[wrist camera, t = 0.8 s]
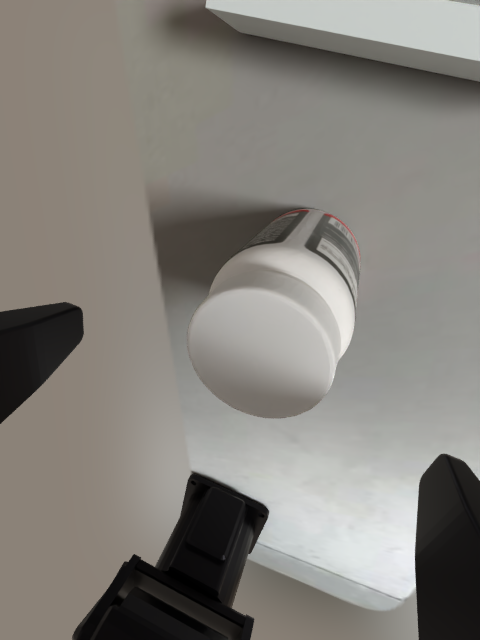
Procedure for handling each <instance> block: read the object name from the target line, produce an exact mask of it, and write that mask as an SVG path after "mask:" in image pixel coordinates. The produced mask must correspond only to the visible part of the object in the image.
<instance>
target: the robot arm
mask: <svg viewBox="0 0 480 640" xmlns="http://www.w3.org/2000/svg"><path fill="white" fill-rule="evenodd" d="M83 334H84V331H83V313H82V310H81V308H80V307H77V306H75V305H73V304H70V303H67V302H63V303H56V304H49V305H43V306H36V307H30V308H23V309H16V310H9V311H3V312H0V424H1V423H2V422H3V421H4V420H5V419H6V418H7V417H8V416H9V415H10V414H12V412H14V411H15V410H16V409H17V408H18V407H19V406H20V405H21V404H22V403H23V402H24V401H26V400H27V399H28V398H29V397H30V396H31V395H32V394H33V393H34V392H35V391H36V390H37V389H38V388H39V387H40V386H41V385H42V384H43V383H44V382H45V381H46V380H47V379H48V378H49V377H50V375H52V373H53V372H54V371H55V370H56V369H57V368H58V367H59V366H60V364H61V363H62V362H63V361H64V360H65V359H66V358H67V356H68V355H69V354H70V353H71V352H72V351H73V350H74V349H75V347H76V346H77V345H78V344H79V343H80V341H81V340H82V337H83ZM268 515H269V510H268V509H267V508H266V507H264V506H262V505H260V504H257V503H255V502H253V501H251V500H249V499H247V498H245V497H243V496H240V495H238V494H236V493H234V492H232V491H230V490H228V489H226V488H223V487H221V486H219V485H217V484H215V483H213V482H211V481H209V480H207V479H204V478H202V477H200V476H198V475H195V474H192V475H191V476H190V477H189V479H188V483H187V487H186V492H185V497H184V501H183V506H182V511H181V516H180V519H179V520H178V522H177V524H176V526H175V528H174V530H173V532H172V534H171V536H170V538H169V541H168V542H167V544H166V546H165V548H164V550H163V552H162V554H161V556H160V558H159V560H158V562H157V564H156V566H155V567H153V566H152V565H150V564H148V563H146V562H144V561H143V560H141V557H139V556H137V555H135V554H134V555H133V556H132V558H131V559H130V560H129V562H124V563H123V565H122V567H121V568H120V570H119V572H118V573H117V575H116V577H115V579H114V580H113V582H112V583H111V585H110V587H109V588H108V589H107V591H106V592H105V593H104V595H103V596H102V597H101V598H100V599H99V601H98V602H97V603H96V604H95V606H94V607H93V608H92V609H91V611H90V612H89V613H88V614H87V616H86V617H85V618H84V619H83V621H82V622H81V623H80V624H79V625H78V627H77V628H76V630H75V632H74V634H73V636H72V640H250V638H251V633H252V628H253V623H254V618H252V617H250V616H248V615H246V616H245V615H243V614H241V613H239V612H237V611H235V610H234V609H232V605H233V602H234V599H235V595H236V592H237V589H238V586H239V582H240V579H241V576H242V572H243V569H244V566H245V562H246V559H247V556H248V554H250V553H251V552H252V550H253V548H254V546H255V544H256V542H257V539H258V537H259V535H260V533H261V531H262V529H263V527H264V525H265V523H266V521H267V519H268ZM415 573H416V593H417V613H418V632H419V640H480V481H479V479H478V478H477V477H476V476H475V474H474V473H473V472H472V470H471V469H470V468H469V467H468V465H467V464H466V463H465V462H464V461H462V460H460V459H458V458H455V457H453V456H450V455H448V454H441V455H439V456H438V457H437V458H436V459H435V461H434V462H433V463H432V464H431V465H430V467H429V468H428V469H427V470H426V471H425V473H424V474H423V475H422V477H421V480H420V484H419V496H418V512H417V528H416V544H415Z"/></svg>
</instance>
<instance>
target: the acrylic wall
mask: <svg viewBox="0 0 480 640" xmlns="http://www.w3.org/2000/svg"><path fill="white" fill-rule="evenodd" d="M206 8H207V9H208V10H210V11H211V12H212V13H214V14H215V15H216V16H218V17H219V18H220V19H222V20H223V21H224V22H226V23H227V24H229V25H230V26H231V27H233V28H234V29H235V30H237V31H238V32H240V33H245V34H250V35H255V36H260V37H264V38H269V39H274V40H279V41H284V42H289V43H294V44H298V45H303V46H308V47H313V48H318V49H323V50H328V51H332V52H337V53H342V54H347V55H352V56H357V57H362V58H366V59H371V60H376V61H381V62H386V63H391V64H396V65H400V66H405V67H410V68H415V69H420V70H425V71H430V72H434V73H439V74H444V75H449V76H454V77H459V78H464V79H468V80H473V81H478V82H480V6H478V5H472V4H466V3H460V2H454V1H448V0H206Z"/></svg>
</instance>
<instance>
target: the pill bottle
mask: <svg viewBox="0 0 480 640" xmlns="http://www.w3.org/2000/svg"><path fill="white" fill-rule="evenodd" d="M360 267H361V266H360V251H359V247H358V244H357V241H356V239H355V237H354V235H353V233H352V232H351V230H350V229H349V228H348V226H347V225H346V224H345V223H343V222H342V221H341V220H340V219H338V218H337V217H335V216H333V215H331V214H329V213H327V212H324V211H320V210H316V209H299V210H294V211H291V212H288V213H285V214H283V215H281V216H280V217H278V218H276V219H275V220H274V221H273V222H271V223H270V224H269V225H268V226H267V227H266V228H264V229H263V230H262V231H261V232H260V233H259V234H258V235H256V236H255V237H254V238H253V239H252V240H251V241H250V242H248V243H247V244H246V245H245V246H244V247H243V248H242V249H240V250H239V251H238V252H237V253H236V254H235V255H234V256H232V257H231V258H230V259H229V260H228V261H227V262H226V263H225V265H224V266H223V267H222V268H221V269H220V271H219V272H218V274H217V275H216V277H215V279H214V281H213V283H212V285H211V288H210V291H209V295H208V297H207V298H206V299H205V300H204V301H203V302H202V303H201V304H200V305H199V307H198V308H197V309H196V311H195V313H194V314H193V316H192V318H191V321H190V324H189V327H188V333H187V347H188V353H189V357H190V360H191V362H192V365H193V367H194V369H195V371H196V373H197V375H198V376H199V378H200V379H201V381H202V382H203V383H204V384H205V386H206V387H207V388H208V389H209V390H210V391H211V392H212V393H213V394H214V395H215V396H216V397H218V398H219V399H220V400H222V401H223V402H225V403H226V404H228V405H229V406H231V407H233V408H235V409H237V410H240V411H241V412H244V413H247V414H250V415H254V416H258V417H263V418H286V417H291V416H296V415H299V414H301V413H303V412H306V411H308V410H310V409H312V408H313V407H314V406H315V405H317V404H318V403H319V402H320V401H321V400H322V399H323V398H324V397H325V395H326V394H327V392H328V391H329V389H330V387H331V384H332V382H333V379H334V375H335V371H336V366H337V363H338V360H339V359H340V358H341V357H342V355H343V354H344V353H345V351H346V349H347V347H348V346H349V343H350V341H351V338H352V334H353V330H354V325H355V320H356V305H357V295H358V284H359V274H360Z"/></svg>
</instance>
